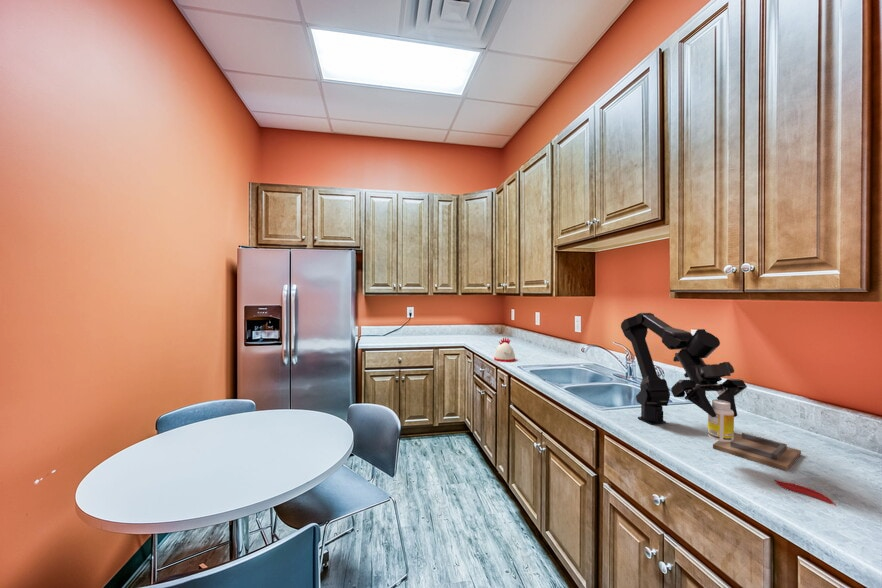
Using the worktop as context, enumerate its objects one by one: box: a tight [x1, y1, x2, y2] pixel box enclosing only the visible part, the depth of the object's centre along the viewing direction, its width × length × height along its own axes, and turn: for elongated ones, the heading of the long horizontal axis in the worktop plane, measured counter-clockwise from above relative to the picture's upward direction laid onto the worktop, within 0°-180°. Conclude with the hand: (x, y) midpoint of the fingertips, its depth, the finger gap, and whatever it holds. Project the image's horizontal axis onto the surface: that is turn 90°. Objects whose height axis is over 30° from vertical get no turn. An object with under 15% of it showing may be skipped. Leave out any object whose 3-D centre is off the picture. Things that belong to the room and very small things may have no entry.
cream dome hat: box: [493, 337, 516, 363], centre depth 234 cm, size 14×14×15 cm
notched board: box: [712, 432, 802, 472], centre depth 102 cm, size 16×16×3 cm
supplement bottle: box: [707, 399, 735, 442], centre depth 96 cm, size 6×6×10 cm
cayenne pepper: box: [773, 478, 837, 507], centre depth 82 cm, size 12×5×2 cm, turn 12°
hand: (725, 416), depth 95 cm, fingers closed on supplement bottle, 6 cm apart
